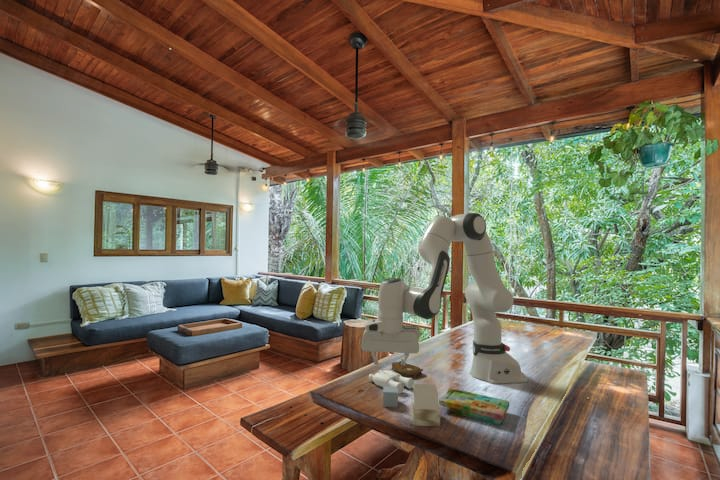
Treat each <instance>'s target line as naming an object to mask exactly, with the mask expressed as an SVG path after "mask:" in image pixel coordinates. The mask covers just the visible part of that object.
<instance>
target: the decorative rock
mask: <svg viewBox="0 0 720 480" xmlns="http://www.w3.org/2000/svg"><path fill="white" fill-rule="evenodd" d="M391 371H393V372H395V373H398V374H400V375H401V376H403V377H406V378H412V379H413V380H414V379H415V380H416V379H417V378H419V377H420V376H419V375H422V372H423V371H424V369H423V368H421V367H419V366H417V365H412V364H409V363H407V362H406V361H405V366H402V365H401V360H399V361H397V362H396V361H394V362H391Z"/></svg>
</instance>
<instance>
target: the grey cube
mask: <svg viewBox="0 0 720 480" xmlns="http://www.w3.org/2000/svg"><path fill="white" fill-rule="evenodd" d="M382 389H383V391H382V392H383V393H382V397H383V398H382V402H383V403H382V405H383V406H382V407H387V408H388V407H389V408H399V407H398V406H399V394H398V388H397V387H392V386H383V387H382Z"/></svg>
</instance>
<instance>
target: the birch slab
mask: <svg viewBox="0 0 720 480" xmlns="http://www.w3.org/2000/svg"><path fill="white" fill-rule="evenodd" d="M439 405H440V404H438V410H428V409H415V406H414V399H413V397H412V398H411V415H412V422H413V426H425V427H426V426H427V427H441V409H440V406H439Z"/></svg>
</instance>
